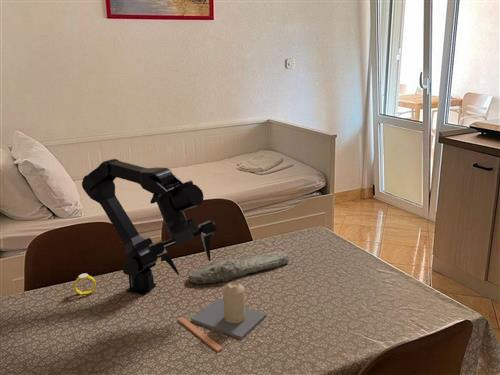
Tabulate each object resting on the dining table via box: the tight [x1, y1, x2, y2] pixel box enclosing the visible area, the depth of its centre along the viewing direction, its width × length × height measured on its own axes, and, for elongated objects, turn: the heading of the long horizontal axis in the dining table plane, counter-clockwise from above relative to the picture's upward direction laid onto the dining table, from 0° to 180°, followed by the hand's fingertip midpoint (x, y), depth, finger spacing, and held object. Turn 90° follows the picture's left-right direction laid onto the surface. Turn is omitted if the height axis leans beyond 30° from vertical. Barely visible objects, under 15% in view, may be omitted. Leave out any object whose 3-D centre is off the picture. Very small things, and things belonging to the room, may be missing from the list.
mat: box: [190, 298, 267, 340], centre depth 127 cm, size 16×12×1 cm
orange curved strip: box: [177, 316, 224, 353], centre depth 120 cm, size 18×2×1 cm, turn 40°
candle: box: [222, 281, 246, 324], centre depth 124 cm, size 6×6×10 cm
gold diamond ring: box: [73, 272, 97, 296], centre depth 141 cm, size 6×3×6 cm, turn 105°
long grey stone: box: [188, 251, 290, 285], centre depth 153 cm, size 35×5×10 cm
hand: (194, 267), depth 129 cm, fingers open, 9 cm apart
